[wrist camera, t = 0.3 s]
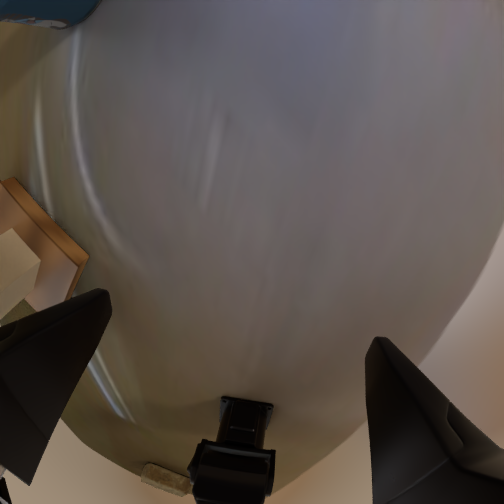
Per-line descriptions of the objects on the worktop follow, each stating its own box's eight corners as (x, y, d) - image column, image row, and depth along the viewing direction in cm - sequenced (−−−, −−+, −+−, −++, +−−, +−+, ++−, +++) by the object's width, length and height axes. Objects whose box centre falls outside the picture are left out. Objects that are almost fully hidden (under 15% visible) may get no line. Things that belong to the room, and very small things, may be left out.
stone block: (187, 482, 53) (182, 498, 49) (143, 464, 52) (137, 480, 47) (194, 478, 50) (189, 495, 46) (147, 460, 49) (141, 477, 45)
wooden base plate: (91, 255, 26) (78, 267, 24) (64, 317, 31) (54, 328, 29) (13, 174, 23) (-2, 180, 21) (-2, 246, 28) (-14, 254, 26)
